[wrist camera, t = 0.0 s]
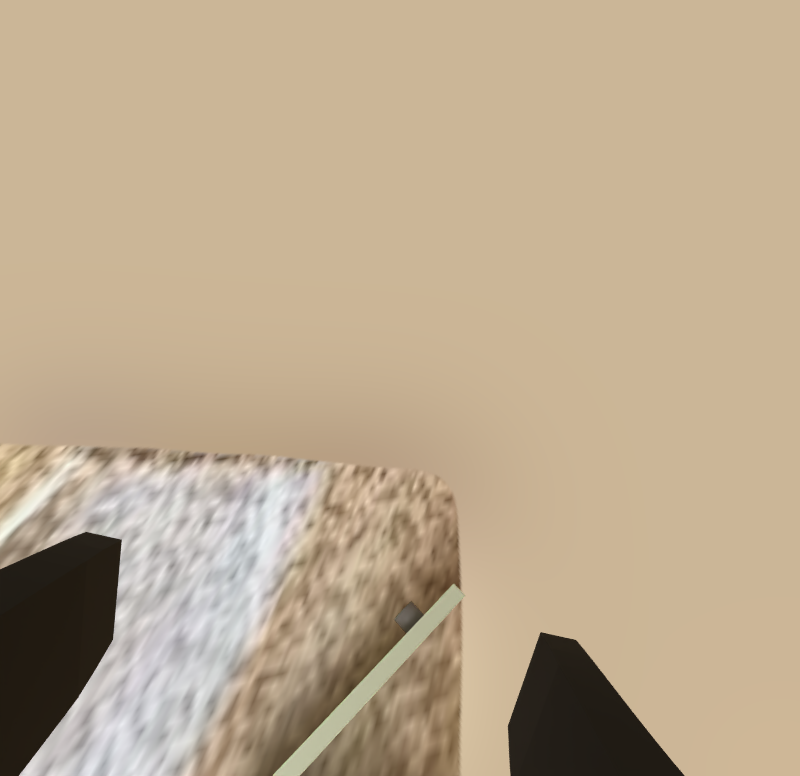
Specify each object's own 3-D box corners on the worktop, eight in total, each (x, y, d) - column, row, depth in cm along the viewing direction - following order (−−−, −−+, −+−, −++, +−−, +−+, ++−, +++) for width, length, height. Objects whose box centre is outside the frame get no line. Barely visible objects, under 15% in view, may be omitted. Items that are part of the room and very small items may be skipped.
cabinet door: (446, 613, 41) (465, 595, 36) (209, 871, 32) (189, 895, 27) (424, 590, 41) (440, 569, 36) (186, 836, 32) (162, 854, 27)
